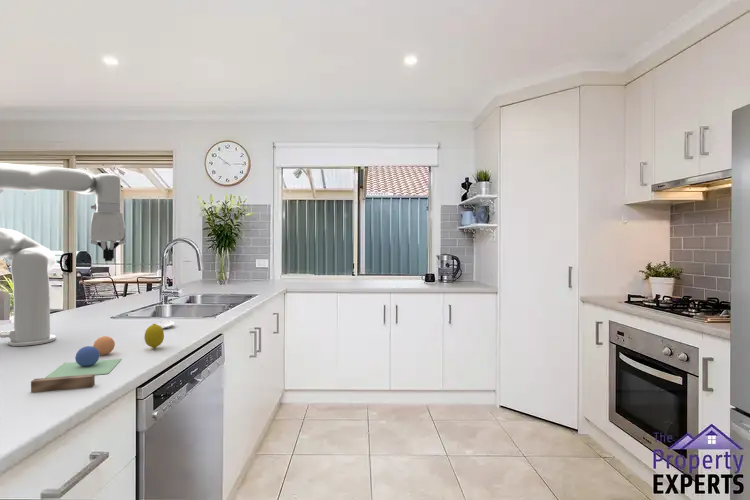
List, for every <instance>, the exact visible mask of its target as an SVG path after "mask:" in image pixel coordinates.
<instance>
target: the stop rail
mask: <svg viewBox="0 0 750 500" xmlns="http://www.w3.org/2000/svg"><path fill="white" fill-rule="evenodd" d="M95 377H96V375H95V374H89V375H77V376H64V377H51V378H45V377H42V378H40V377H39V378H33V380H31V381H30V393H41V392H51V391H62V390H63V391H64V390H75V389H76V390H77V389H86V388H93V387H94V386H95V384H96V383H95V379H96V378H95Z"/></svg>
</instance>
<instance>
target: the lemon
mask: <svg viewBox="0 0 750 500" xmlns="http://www.w3.org/2000/svg"><path fill="white" fill-rule="evenodd" d="M156 324H157V323H153V324H152V325H150V326H147V328H146V329H145V331H144V343H145V344H146V345H147V346H149V347H151V348H152V349H157V347H159V346H160V345H161V344H162V343H163V341H164V339H165V333H164V329H162V328H163V327H162V326H161V327H160V326H159V325H156Z"/></svg>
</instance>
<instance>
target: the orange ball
mask: <svg viewBox="0 0 750 500" xmlns="http://www.w3.org/2000/svg"><path fill="white" fill-rule="evenodd" d="M115 346H116V343H115V341H114V339H113V338H112V337H110V336H105V335H103V336H99V337H98V338H97V339H96V340H95V341H94V343H93V346H92V347H95V348H96V349H97V350H98V351H99V355H101V356H102V355H103V356H104V355H109V354H110V353H111V352H113V351H114V349H115Z"/></svg>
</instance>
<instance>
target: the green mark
mask: <svg viewBox="0 0 750 500" xmlns="http://www.w3.org/2000/svg"><path fill="white" fill-rule="evenodd" d="M121 361H122V358H118V359H117V358H115V359H103V360H102V359H101V360H100V359H98V361H97V362H96V363H95V364H94V365H92V366H88V367H83V366H80V365H79V364H78V363H77V362H76V361H71V362H64V363H62V364H61V365H59V366H58V367H57V368H56V369H55V370H53V371H51V372H50V373H49V374H47V375H46V376H45V377H44V378H51V377H64V376H77V375H89V374H95V376H101V375H109V374H110V373H111V372H112V371H113V370H114V369H115V367H116V366H117V365H118V364H119V363H120V362H121Z"/></svg>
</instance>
